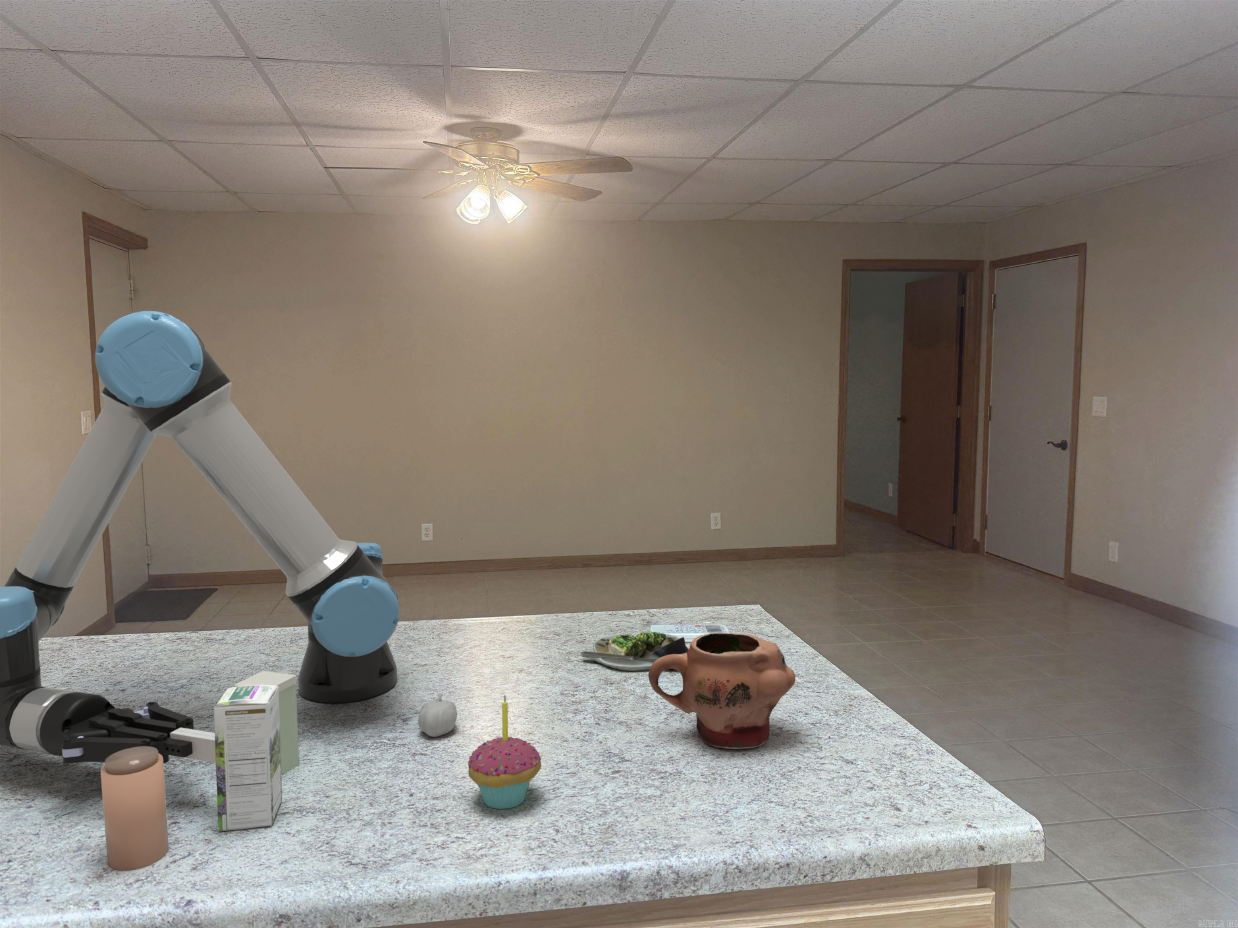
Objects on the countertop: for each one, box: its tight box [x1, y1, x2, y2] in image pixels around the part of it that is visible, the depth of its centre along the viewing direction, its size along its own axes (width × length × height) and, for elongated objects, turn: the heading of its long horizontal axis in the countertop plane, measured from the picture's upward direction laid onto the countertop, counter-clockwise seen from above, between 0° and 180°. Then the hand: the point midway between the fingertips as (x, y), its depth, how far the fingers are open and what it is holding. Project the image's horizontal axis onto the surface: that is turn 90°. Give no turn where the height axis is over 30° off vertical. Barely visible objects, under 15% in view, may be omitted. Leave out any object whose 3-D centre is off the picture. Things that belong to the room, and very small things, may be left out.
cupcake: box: [467, 694, 542, 810], centre depth 99 cm, size 9×8×12 cm
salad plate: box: [580, 631, 689, 672], centre depth 148 cm, size 19×18×5 cm
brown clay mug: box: [647, 632, 796, 750], centre depth 115 cm, size 20×12×14 cm, turn 97°
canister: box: [100, 746, 170, 872], centre depth 88 cm, size 6×6×11 cm
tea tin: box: [232, 670, 300, 776], centre depth 106 cm, size 5×5×12 cm
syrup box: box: [213, 685, 283, 832], centre depth 95 cm, size 6×6×14 cm
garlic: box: [417, 693, 458, 738], centre depth 118 cm, size 6×5×5 cm
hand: (221, 748), depth 96 cm, fingers closed
